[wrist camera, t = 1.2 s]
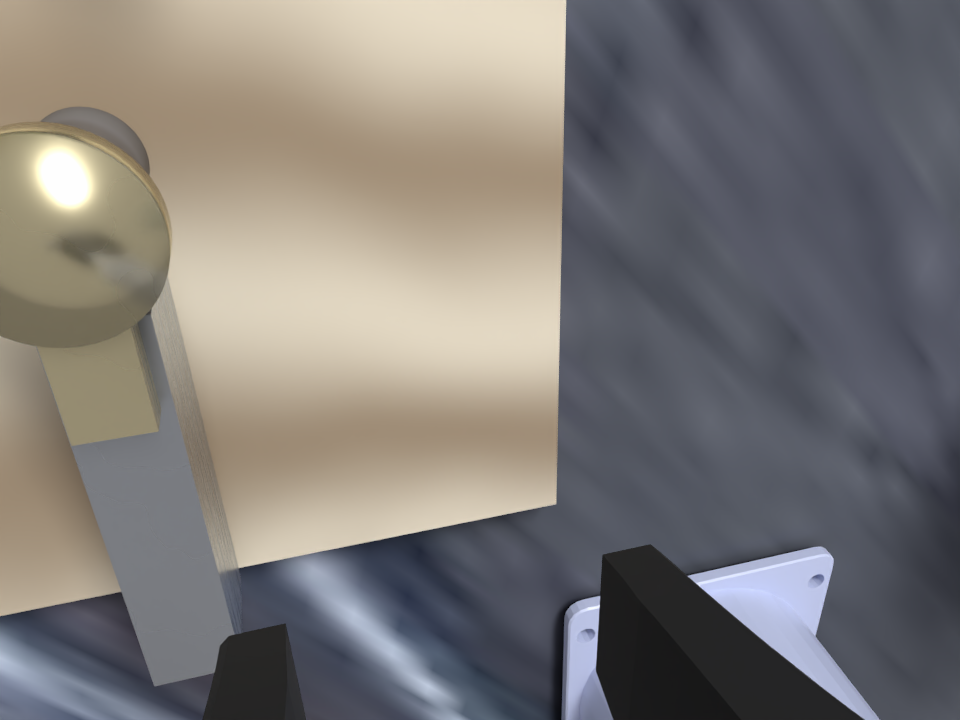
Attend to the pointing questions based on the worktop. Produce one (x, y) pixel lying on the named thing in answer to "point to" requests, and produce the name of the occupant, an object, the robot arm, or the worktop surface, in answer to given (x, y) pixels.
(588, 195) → the worktop surface
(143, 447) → the lock bar
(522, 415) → the jamb board
